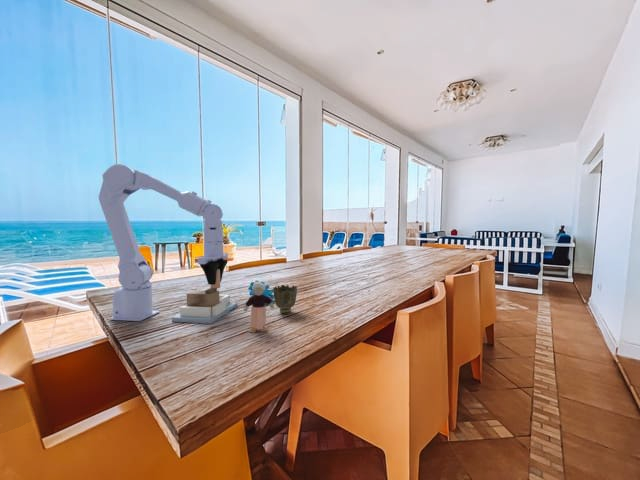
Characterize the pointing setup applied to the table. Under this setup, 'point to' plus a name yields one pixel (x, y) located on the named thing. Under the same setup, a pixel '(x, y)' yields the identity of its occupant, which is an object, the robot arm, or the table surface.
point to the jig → (205, 312)
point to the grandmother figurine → (258, 307)
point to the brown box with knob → (203, 298)
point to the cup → (285, 298)
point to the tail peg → (217, 280)
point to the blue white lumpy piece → (266, 292)
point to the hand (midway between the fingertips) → (214, 283)
